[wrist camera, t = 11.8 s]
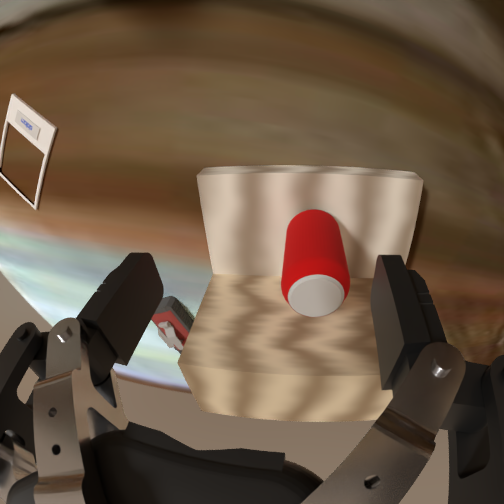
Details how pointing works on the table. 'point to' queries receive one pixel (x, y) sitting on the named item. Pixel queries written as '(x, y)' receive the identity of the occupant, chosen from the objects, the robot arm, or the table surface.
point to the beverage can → (314, 264)
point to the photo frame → (29, 135)
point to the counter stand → (274, 304)
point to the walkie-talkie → (172, 323)
